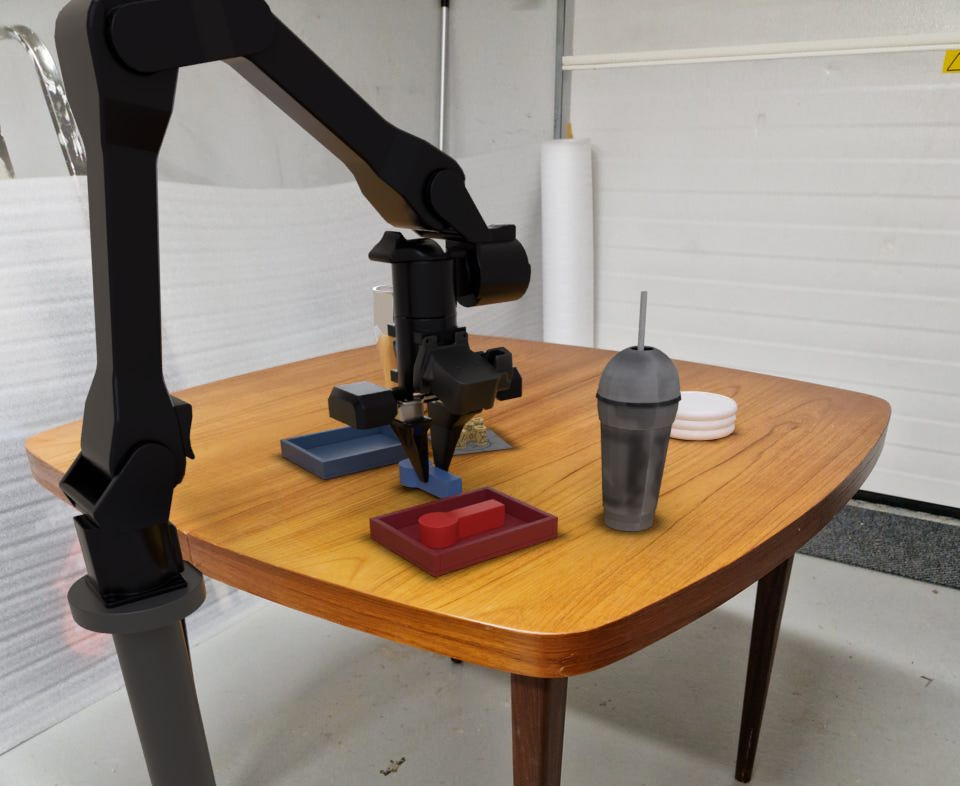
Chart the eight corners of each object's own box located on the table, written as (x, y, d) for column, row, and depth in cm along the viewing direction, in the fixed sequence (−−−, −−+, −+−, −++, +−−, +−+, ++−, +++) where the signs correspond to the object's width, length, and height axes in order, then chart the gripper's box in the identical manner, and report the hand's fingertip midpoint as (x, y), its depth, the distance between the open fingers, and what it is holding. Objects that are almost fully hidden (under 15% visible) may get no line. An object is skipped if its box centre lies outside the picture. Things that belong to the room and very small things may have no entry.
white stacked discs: (752, 432, 102) (756, 403, 100) (689, 446, 98) (692, 416, 96) (693, 413, 109) (696, 386, 108) (633, 425, 105) (635, 397, 103)
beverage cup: (673, 512, 80) (698, 284, 70) (662, 541, 74) (686, 297, 64) (597, 503, 83) (610, 281, 72) (580, 532, 77) (592, 294, 67)
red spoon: (487, 517, 79) (487, 496, 78) (510, 528, 77) (510, 507, 76) (412, 539, 75) (410, 517, 74) (433, 551, 72) (432, 530, 71)
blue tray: (324, 479, 89) (322, 462, 88) (281, 456, 97) (279, 439, 96) (428, 455, 96) (428, 438, 95) (381, 434, 103) (380, 418, 102)
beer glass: (430, 416, 110) (425, 291, 103) (376, 416, 110) (367, 292, 103) (433, 402, 116) (428, 283, 109) (382, 402, 116) (374, 284, 109)
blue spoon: (468, 495, 84) (468, 476, 83) (440, 503, 82) (440, 483, 81) (420, 474, 89) (419, 455, 88) (393, 481, 87) (392, 462, 86)
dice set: (481, 433, 103) (481, 417, 102) (495, 445, 99) (495, 428, 98) (441, 437, 102) (441, 421, 101) (454, 450, 98) (453, 433, 97)
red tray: (434, 577, 69) (433, 555, 68) (370, 537, 76) (368, 518, 75) (557, 536, 76) (558, 516, 75) (488, 504, 83) (488, 485, 82)
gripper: (383, 340, 66) (395, 527, 74) (563, 313, 76) (557, 481, 84) (316, 321, 74) (334, 491, 82) (487, 299, 84) (488, 453, 92)
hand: (432, 479), depth 85 cm, fingers closed on blue spoon, 2 cm apart
